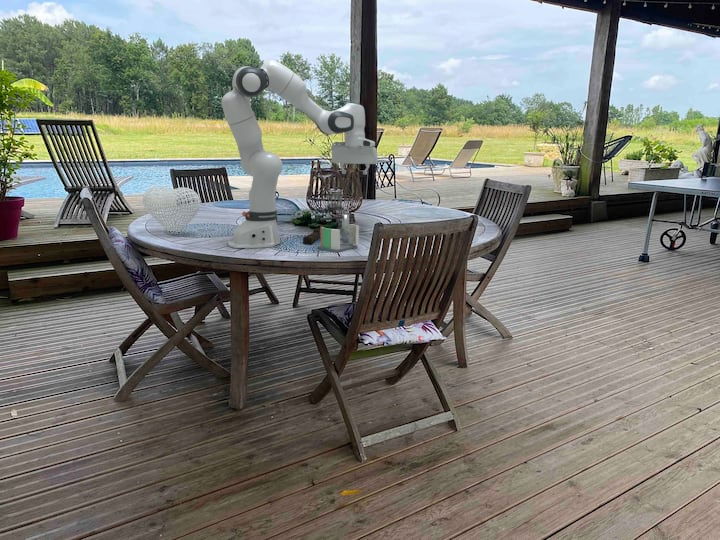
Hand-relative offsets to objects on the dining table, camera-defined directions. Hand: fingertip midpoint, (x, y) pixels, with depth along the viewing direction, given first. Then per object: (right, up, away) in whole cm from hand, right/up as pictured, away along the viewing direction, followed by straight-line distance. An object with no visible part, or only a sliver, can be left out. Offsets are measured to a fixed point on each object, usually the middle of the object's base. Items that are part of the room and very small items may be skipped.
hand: (354, 174), depth 224 cm
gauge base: (-7, -33, -12) cm, 36 cm away
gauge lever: (-6, -32, -15) cm, 36 cm away
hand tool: (-19, -30, +3) cm, 35 cm away
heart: (-84, -26, +12) cm, 89 cm away
